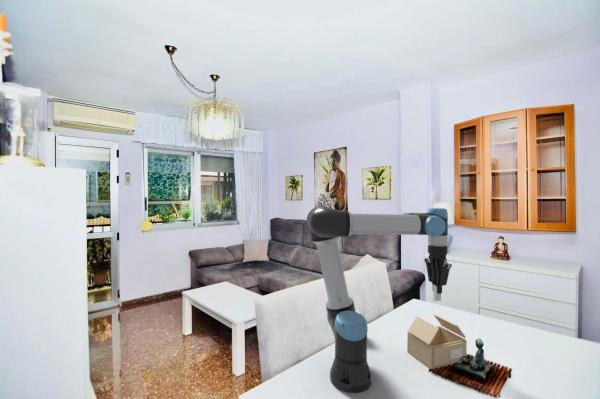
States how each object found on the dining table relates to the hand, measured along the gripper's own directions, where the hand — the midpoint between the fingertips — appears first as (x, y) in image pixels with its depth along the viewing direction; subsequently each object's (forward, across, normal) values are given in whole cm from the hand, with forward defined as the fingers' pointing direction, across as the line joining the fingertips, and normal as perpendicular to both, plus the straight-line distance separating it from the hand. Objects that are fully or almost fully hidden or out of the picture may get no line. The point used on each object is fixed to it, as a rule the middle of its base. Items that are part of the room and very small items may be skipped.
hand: (437, 300), depth 127 cm
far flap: (+15, 0, -9) cm, 18 cm away
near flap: (+15, 0, +10) cm, 18 cm away
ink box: (+24, +29, +23) cm, 45 cm away
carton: (+24, 0, 0) cm, 24 cm away
